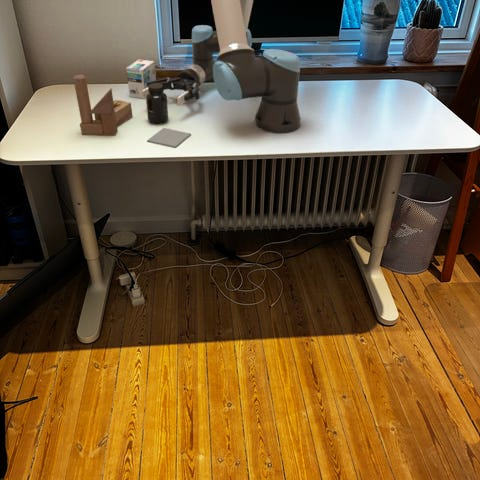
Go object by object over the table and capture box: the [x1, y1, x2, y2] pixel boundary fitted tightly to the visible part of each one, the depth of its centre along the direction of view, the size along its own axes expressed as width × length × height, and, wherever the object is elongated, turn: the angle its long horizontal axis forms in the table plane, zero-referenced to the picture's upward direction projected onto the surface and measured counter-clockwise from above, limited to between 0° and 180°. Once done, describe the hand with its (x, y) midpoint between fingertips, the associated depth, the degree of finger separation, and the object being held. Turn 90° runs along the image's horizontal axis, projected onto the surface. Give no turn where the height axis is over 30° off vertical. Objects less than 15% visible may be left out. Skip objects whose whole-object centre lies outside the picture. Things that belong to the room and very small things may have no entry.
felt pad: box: [146, 127, 192, 149], centre depth 157 cm, size 10×10×1 cm
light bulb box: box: [125, 59, 157, 100], centre depth 184 cm, size 11×7×11 cm, turn 164°
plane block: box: [94, 99, 134, 128], centre depth 164 cm, size 6×12×8 cm, turn 157°
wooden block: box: [72, 74, 118, 136], centre depth 154 cm, size 4×11×18 cm, turn 87°
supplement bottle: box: [145, 83, 169, 125], centre depth 164 cm, size 7×7×12 cm
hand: (160, 98), depth 166 cm, fingers open, 13 cm apart
